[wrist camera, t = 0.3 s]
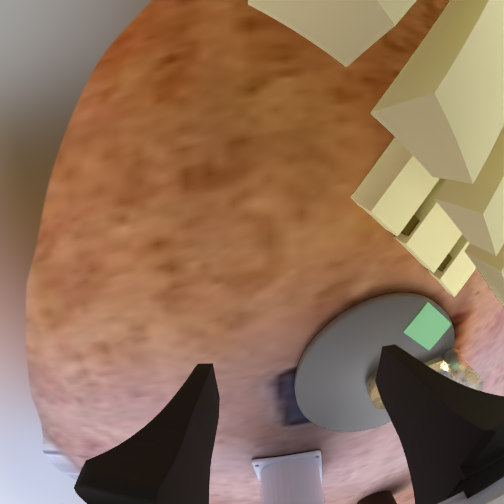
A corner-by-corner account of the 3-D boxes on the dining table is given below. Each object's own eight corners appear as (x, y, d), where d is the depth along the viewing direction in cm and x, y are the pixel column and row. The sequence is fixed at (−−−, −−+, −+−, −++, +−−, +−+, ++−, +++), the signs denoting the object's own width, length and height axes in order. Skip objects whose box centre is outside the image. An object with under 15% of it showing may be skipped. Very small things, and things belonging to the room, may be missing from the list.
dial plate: (434, 399, 26) (438, 405, 25) (301, 438, 27) (302, 445, 25) (459, 274, 21) (466, 279, 20) (283, 315, 22) (284, 323, 21)
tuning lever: (364, 398, 23) (381, 438, 18) (366, 371, 22) (386, 412, 17) (453, 367, 22) (477, 398, 18) (460, 339, 21) (488, 369, 17)
